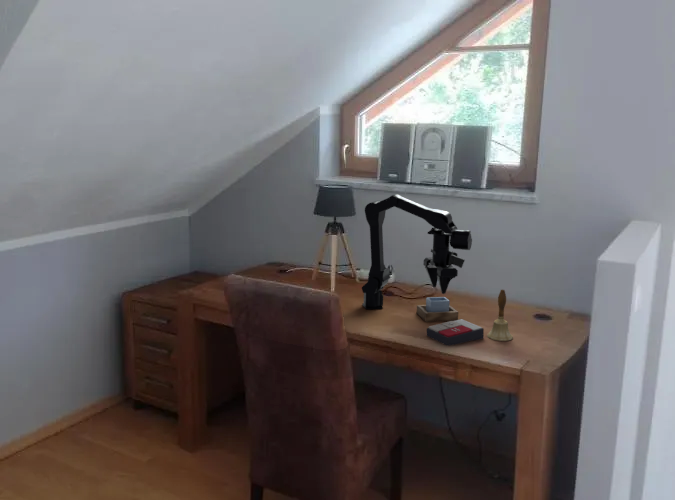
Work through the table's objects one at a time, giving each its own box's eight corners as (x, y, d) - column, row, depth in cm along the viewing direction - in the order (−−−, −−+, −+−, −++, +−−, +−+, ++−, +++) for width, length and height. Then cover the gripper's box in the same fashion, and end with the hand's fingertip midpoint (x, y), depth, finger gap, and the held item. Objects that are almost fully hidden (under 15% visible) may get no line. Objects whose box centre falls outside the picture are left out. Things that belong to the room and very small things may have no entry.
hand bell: (482, 337, 218) (485, 290, 214) (494, 331, 224) (498, 285, 220) (505, 343, 212) (508, 295, 209) (517, 337, 218) (521, 290, 215)
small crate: (430, 317, 235) (430, 301, 234) (425, 313, 240) (426, 297, 239) (448, 316, 236) (449, 300, 235) (443, 312, 241) (444, 296, 240)
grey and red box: (426, 325, 217) (461, 317, 225) (426, 338, 218) (461, 329, 226) (447, 335, 208) (484, 326, 215) (447, 348, 209) (484, 339, 216)
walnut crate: (425, 321, 232) (426, 313, 232) (416, 313, 242) (416, 305, 241) (457, 320, 235) (458, 311, 234) (447, 311, 244) (448, 303, 244)
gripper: (473, 252, 226) (470, 296, 229) (452, 241, 243) (450, 282, 247) (442, 253, 223) (440, 297, 227) (423, 242, 241) (422, 284, 244)
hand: (438, 290), depth 236 cm, fingers open, 9 cm apart
